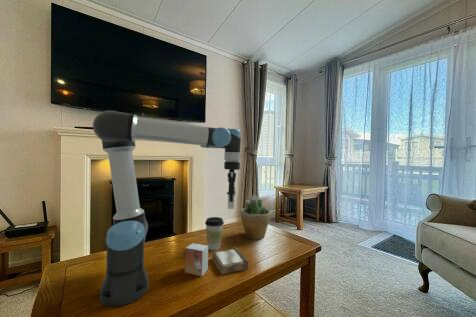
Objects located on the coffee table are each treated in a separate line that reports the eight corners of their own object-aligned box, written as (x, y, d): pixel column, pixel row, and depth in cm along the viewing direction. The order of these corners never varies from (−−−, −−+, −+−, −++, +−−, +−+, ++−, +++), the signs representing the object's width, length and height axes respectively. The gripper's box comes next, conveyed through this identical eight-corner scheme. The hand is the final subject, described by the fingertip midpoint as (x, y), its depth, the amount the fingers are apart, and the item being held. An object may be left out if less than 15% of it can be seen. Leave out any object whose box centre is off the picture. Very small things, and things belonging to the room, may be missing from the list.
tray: (221, 274, 85) (221, 265, 85) (212, 258, 98) (212, 250, 98) (247, 269, 90) (248, 260, 90) (235, 254, 103) (236, 246, 103)
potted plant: (237, 231, 134) (238, 192, 134) (265, 229, 138) (265, 192, 137) (243, 243, 116) (244, 198, 116) (275, 241, 120) (275, 198, 119)
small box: (184, 273, 86) (184, 247, 86) (191, 266, 91) (191, 242, 91) (202, 276, 83) (202, 250, 83) (208, 269, 89) (208, 245, 89)
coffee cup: (220, 253, 104) (220, 223, 104) (201, 250, 106) (202, 221, 106) (225, 244, 114) (225, 217, 113) (208, 243, 116) (208, 216, 115)
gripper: (241, 162, 88) (239, 212, 88) (238, 160, 113) (237, 199, 113) (223, 161, 88) (221, 211, 88) (225, 160, 112) (223, 199, 113)
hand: (230, 205), depth 100 cm, fingers open, 13 cm apart
